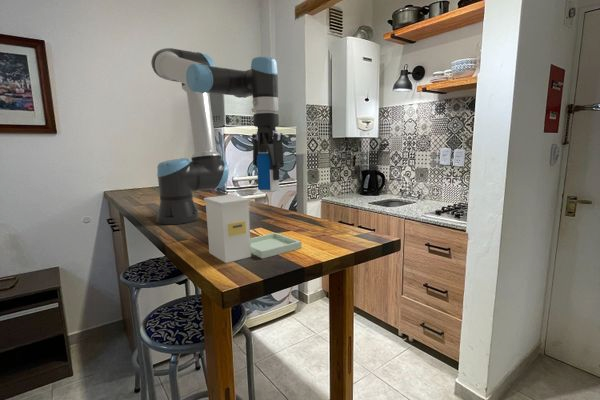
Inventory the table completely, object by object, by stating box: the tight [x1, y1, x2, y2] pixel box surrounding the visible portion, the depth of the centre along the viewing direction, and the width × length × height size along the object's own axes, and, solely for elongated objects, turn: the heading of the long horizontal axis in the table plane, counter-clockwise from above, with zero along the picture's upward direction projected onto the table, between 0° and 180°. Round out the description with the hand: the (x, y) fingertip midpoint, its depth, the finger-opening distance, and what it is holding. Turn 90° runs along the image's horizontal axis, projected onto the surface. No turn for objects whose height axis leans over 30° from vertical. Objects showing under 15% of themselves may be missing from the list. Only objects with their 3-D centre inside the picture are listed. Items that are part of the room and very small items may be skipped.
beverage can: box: [256, 151, 276, 193], centre depth 101 cm, size 6×6×12 cm
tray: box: [250, 232, 302, 260], centre depth 90 cm, size 12×12×2 cm
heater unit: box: [203, 194, 252, 264], centre depth 84 cm, size 11×8×15 cm
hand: (268, 189), depth 102 cm, fingers closed on beverage can, 6 cm apart
